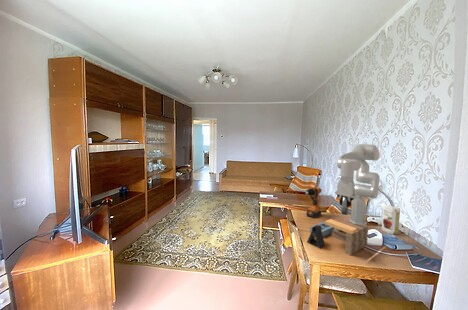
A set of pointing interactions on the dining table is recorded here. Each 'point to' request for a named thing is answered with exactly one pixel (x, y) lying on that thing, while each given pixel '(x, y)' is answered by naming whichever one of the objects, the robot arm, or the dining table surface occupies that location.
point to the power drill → (314, 202)
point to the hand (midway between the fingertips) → (345, 205)
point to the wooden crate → (352, 238)
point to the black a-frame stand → (319, 237)
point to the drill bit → (344, 205)
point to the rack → (324, 229)
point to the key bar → (341, 226)
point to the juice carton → (390, 219)
